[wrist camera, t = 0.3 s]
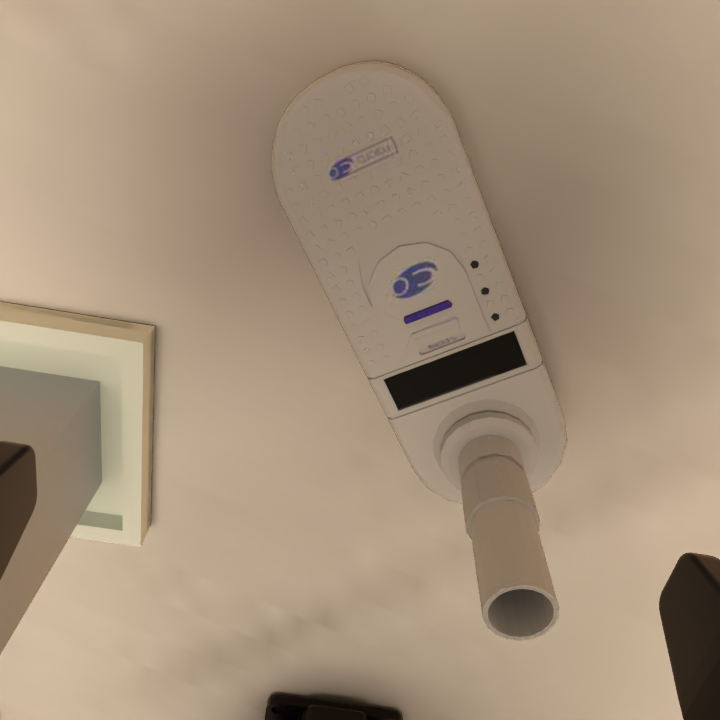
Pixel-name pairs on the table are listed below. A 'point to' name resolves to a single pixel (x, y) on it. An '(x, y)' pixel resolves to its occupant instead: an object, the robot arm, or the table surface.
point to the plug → (48, 473)
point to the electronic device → (429, 313)
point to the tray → (117, 399)
